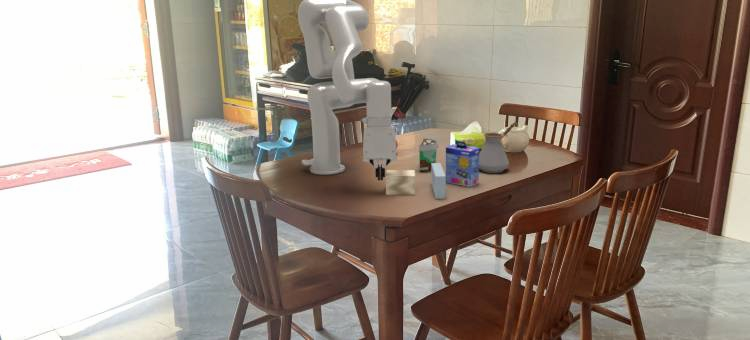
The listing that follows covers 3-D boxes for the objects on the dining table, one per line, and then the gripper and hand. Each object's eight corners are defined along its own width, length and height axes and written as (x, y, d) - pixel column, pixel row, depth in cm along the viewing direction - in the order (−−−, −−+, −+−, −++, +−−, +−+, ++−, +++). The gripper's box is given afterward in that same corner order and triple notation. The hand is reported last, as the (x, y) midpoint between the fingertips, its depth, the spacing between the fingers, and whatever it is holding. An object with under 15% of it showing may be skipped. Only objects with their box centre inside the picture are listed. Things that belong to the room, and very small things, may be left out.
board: (435, 198, 175) (435, 176, 173) (431, 183, 190) (431, 163, 189) (445, 198, 175) (445, 176, 173) (440, 183, 190) (440, 162, 188)
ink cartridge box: (444, 182, 191) (444, 139, 187) (453, 179, 195) (453, 136, 191) (470, 187, 185) (471, 143, 181) (479, 183, 189) (480, 140, 185)
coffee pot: (498, 176, 197) (499, 133, 193) (469, 171, 204) (470, 129, 200) (528, 164, 212) (530, 123, 208) (500, 159, 219) (502, 120, 216)
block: (386, 194, 180) (385, 176, 178) (386, 188, 187) (386, 170, 185) (415, 194, 180) (415, 176, 178) (414, 188, 186) (414, 170, 185)
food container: (436, 173, 202) (436, 145, 200) (419, 173, 203) (419, 145, 201) (440, 164, 214) (440, 138, 211) (423, 164, 215) (423, 137, 212)
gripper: (354, 124, 174) (356, 183, 178) (403, 123, 173) (404, 182, 178) (355, 120, 181) (357, 176, 186) (403, 119, 180) (403, 175, 185)
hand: (380, 179), depth 182 cm, fingers closed
